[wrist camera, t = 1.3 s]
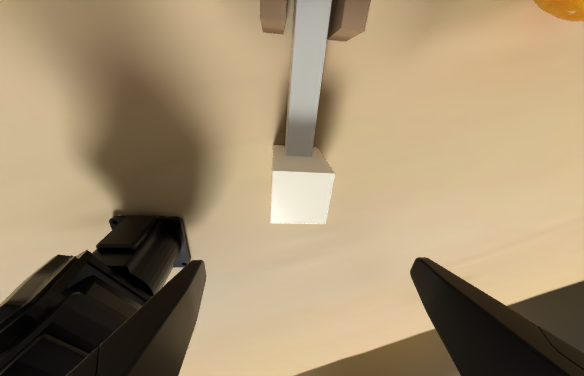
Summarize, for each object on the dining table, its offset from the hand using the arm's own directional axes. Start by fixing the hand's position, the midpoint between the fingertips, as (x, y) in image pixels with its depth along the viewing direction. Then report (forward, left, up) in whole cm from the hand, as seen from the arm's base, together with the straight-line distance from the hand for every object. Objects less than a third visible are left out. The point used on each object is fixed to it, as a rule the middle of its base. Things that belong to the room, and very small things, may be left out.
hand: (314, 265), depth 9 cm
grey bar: (+7, 0, -12) cm, 14 cm away
